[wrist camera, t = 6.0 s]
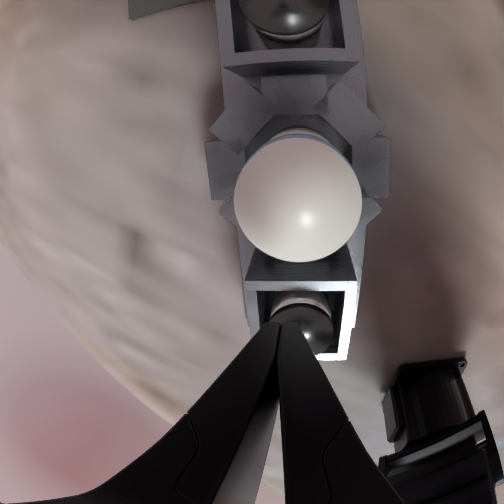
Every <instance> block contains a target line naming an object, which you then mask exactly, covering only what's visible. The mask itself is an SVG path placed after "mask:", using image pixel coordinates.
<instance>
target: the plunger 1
mask: <svg viewBox="0 0 504 504" xmlns="http://www.w3.org/2000/svg"><path fill="white" fill-rule="evenodd" d="M238 1H239V5H240V8H241V10H242V12H243V13H244V15H245V17H246V18H247V19H248V21H249V22H250V23H251V24H252V25H253V27H254V28H255V30H256V32H257V33H258V35H259V37H260V38H261V40H262V41H263V42H264V43H265V44H266V45H267V46H268V47H270V48H271V49H292V48H310V47H311V46H312V45H313V44H314V43H315V42H316V41H317V39H318V37H319V35H320V31H321V27H322V23H323V19H324V17H325V15H326V13H327V9H328V5H329V0H238Z"/></svg>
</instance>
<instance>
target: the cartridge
mask: <svg viewBox="0 0 504 504" xmlns="http://www.w3.org/2000/svg"><path fill="white" fill-rule="evenodd" d="M234 209H235V214H236V217H237V221H238V223H239V225H240V227H241V229H242V231H243V232H244V234H245V235H246V237H247V238H248V239H249V240H250V241H251V242H252V243H253V244H254V245H255V246H256V247H257V248H258V249H260V250H261V251H263V252H264V253H266V254H268V255H270V256H272V257H275V258H277V259H281V260H284V261H290V262H308V261H314V260H318V259H321V258H324V257H326V256H328V255H330V254H332V253H333V252H335V251H337V250H338V249H339V248H340V247H342V246H343V245H344V244H345V243H346V242H347V241H348V239H349V238H350V237H351V236H352V234H353V232H354V231H355V229H356V227H357V225H358V222H359V219H360V215H361V210H362V194H361V188H360V185H359V182H358V179H357V177H356V174H355V172H354V170H353V168H352V166H351V165H350V163H349V162H348V160H347V159H346V158H345V157H344V156H343V155H342V154H341V152H340V151H339V150H338V149H337V148H335V147H334V146H333V145H332V144H331V143H330V142H329V141H328V140H327V139H326V138H325V137H324V136H323V135H322V134H321V133H319V132H318V131H316V130H314V129H311V128H308V127H303V126H294V127H289V128H286V129H283V130H281V131H279V132H278V133H277V134H275V135H274V136H273V137H272V138H271V139H270V140H269V141H268V142H266V143H265V144H264V145H262V146H261V147H260V148H259V149H258V150H257V151H256V152H255V153H254V154H253V155H252V156H251V157H250V158H249V159H248V161H247V162H246V163H245V165H244V167H243V169H242V171H241V173H240V175H239V177H238V180H237V182H236V186H235V190H234Z"/></svg>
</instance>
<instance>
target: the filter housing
mask: <svg viewBox="0 0 504 504" xmlns="http://www.w3.org/2000/svg"><path fill="white" fill-rule="evenodd" d="M215 8H216V19H217V31H218V43H219V54H220V65H221V76H222V87H223V97H224V108H225V110H224V112H223V113H222V114H221V115H220V117H219V118H218V119H217V120H216V121H215V123H214V124H213V125H212V126H211V128H210V129H209V130H208V131H210V132H211V133H212V134H213V135H215V136H216V137H217V138H218V139H214V140H211V141H209V142H206V143H205V150H206V159H207V167H208V175H209V183H210V191H211V199H212V200H227V201H226V202H225V203H224V204H223V206H222V207H221V208H220V210H219V211H218V212H219V213H220V214H221V215H223V216H224V217H225V218H226V219H227V220H229V221H230V222H231V223H232V224H233V225H235V226H236V227H237V233H238V242H239V251H240V260H241V269H242V278H243V287H244V295H245V304H246V312H247V321H248V327H250V335H251V338H252V337H253V336H254V335H255V334H256V332H257V331H258V330H259V329H260V328H261V326H262V325H263V324H264V323H266V322H269V319H270V316H271V310H272V304H273V298H274V292H275V291H329V300H330V311H331V320H332V323H333V340H332V342H331V344H330V345H329V347H328V348H327V349H326V350H325V351H323V352H322V353H320V354H318V355H316V358H317V360H346V357H347V351H348V345H349V339H350V333H351V328H354V327H355V321H356V314H357V307H358V300H359V292H360V284H361V275H362V266H363V256H364V244H365V232H366V225H367V224H368V223H369V222H370V221H372V220H373V219H374V218H375V217H376V216H377V215H378V214H379V213H380V212H381V211H382V210H383V209H382V207H381V206H380V205H379V203H378V202H377V201H376V199H375V198H389V183H390V150H391V139H390V138H387V137H385V136H382V135H377V134H378V133H379V132H380V131H381V130H382V129H383V128H384V127H385V125H384V124H383V123H382V121H381V120H380V119H379V118H378V117H377V116H376V115H375V114H374V113H373V112H372V111H371V110H370V109H369V108H368V107H367V90H366V76H365V64H364V53H363V44H362V36H361V28H360V21H359V14H358V8H357V1H356V0H329V5H328V9H327V13H326V15H325V17H324V19H323V23H322V27H321V31H320V35H319V37H318V39H317V41H316V42H315V43H314V44H313V45H312V46H311V47H310V48H292V49H271V48H270V47H268V46H267V45H266V44H265V43H264V42H263V41H262V40H261V38H260V37H259V35H258V33H257V32H256V30H255V28H254V27H253V25H252V24H251V23H250V22H249V21H248V19H247V18H246V17H245V15H244V13H243V12H242V10H241V8H240V5H239V1H238V0H215ZM294 126H303V127H308V128H311V129H314V130H316V131H318V132H319V133H321V134H322V135H323V136H324V137H325V138H326V139H327V140H328V141H329V142H330V143H331V144H332V145H333V146H334V147H335V148H337V149H338V150H339V151H340V152H341V154H342V155H343V156H344V157H345V158H346V159H347V160H348V162H349V163H350V165H351V166H352V168H353V170H354V172H355V174H356V177H357V179H358V182H359V185H360V188H361V194H362V210H361V215H360V219H359V222H358V225H357V227H356V229H355V231H354V232H353V234H352V236H351V237H350V238H349V239H348V241H347V242H346V243H345V244H344V245H343V246H342V247H340V248H339V249H338V250H337V251H335V252H333V253H332V254H330V255H328V256H326V257H324V258H321V259H318V260H314V261H308V262H290V261H284V260H281V259H277V258H275V257H272V256H270V255H268V254H266V253H264V252H263V251H261V250H260V249H258V248H257V247H256V246H255V245H254V244H253V243H252V242H251V241H250V240H249V239H248V238H247V237H246V235H245V234H244V232H243V231H242V229H241V227H240V225H239V223H238V221H237V217H236V214H235V209H234V190H235V186H236V182H237V180H238V177H239V175H240V173H241V171H242V169H243V167H244V165H245V163H246V162H247V161H248V159H249V158H250V157H251V156H252V155H253V154H254V153H255V152H256V151H257V150H258V149H259V148H260V147H261V146H262V145H264V144H265V143H266V142H268V141H269V140H270V139H271V138H272V137H273V136H274V135H275V134H277V133H278V132H279V131H281V130H283V129H286V128H289V127H294Z"/></svg>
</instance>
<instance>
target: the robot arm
mask: <svg viewBox="0 0 504 504" xmlns="http://www.w3.org/2000/svg"><path fill="white" fill-rule="evenodd" d="M466 366H467V360H466V358H458V359H451V360H443V361H435V362H427V363H417V364H407V365H402V366H400V367H399V369H398V371H397V373H396V376H395V379H394V381H393V384H392V386H391V387H390V388H389V389H388V392H387V395H386V397H385V400H384V402H383V413H384V417H385V425H386V432H387V440H388V441H389V442H390V443H393V442H394V447H395V453H394V454H391V455H388V456H387V455H385V456H382V457H380V458H379V466H378V467H377V465H376V464H375V463H374V461H373V460H372V458H371V457H370V455H369V454H368V452H367V451H366V449H365V447H364V445H363V444H362V442H361V440H360V438H359V437H358V435H357V433H356V431H355V429H354V427H353V426H352V424H351V422H350V421H348V420H349V418H348V416H347V415H346V413H345V411H344V409H343V407H342V405H341V403H340V401H339V399H338V397H337V396H336V394H335V392H334V390H333V388H332V386H331V384H330V382H329V380H328V379H327V377H326V375H325V373H324V371H323V369H322V367H321V365H320V363H319V362H318V360H317V358H316V356H315V354H314V352H313V350H312V348H311V347H310V345H309V343H308V341H307V339H306V337H305V335H304V333H303V332H302V330H301V328H300V326H299V324H298V323H296V322H284V323H282V324H280V323H278V322H266V323H264V324H263V325H262V326H261V328H260V329H259V330H258V331H257V332H256V334H255V335H254V336H253V337H252V338H251V340H250V341H249V342H248V343H247V344H246V346H245V347H244V348H243V349H242V350H241V351H240V353H239V354H238V355H237V356H236V357H235V358H234V360H233V361H232V362H231V363H230V364H229V365H228V367H227V368H226V369H225V370H224V371H223V372H222V373H221V375H220V376H219V377H218V378H217V379H216V380H215V381H214V383H213V384H212V385H211V386H210V387H209V388H208V389H207V390H206V392H205V393H204V394H203V395H202V396H201V397H200V398H199V399H198V400H197V402H196V403H195V404H194V405H193V406H192V407H191V408H190V409H189V410H188V411H187V413H188V414H184V415H183V417H182V418H181V419H180V420H179V421H178V422H177V423H176V424H175V425H174V426H173V427H172V428H171V429H170V430H169V431H168V432H167V433H166V434H165V435H164V436H163V437H162V438H161V439H160V440H159V441H157V442H156V443H155V444H154V445H153V446H152V447H150V448H149V449H148V450H147V451H146V452H145V453H143V454H142V455H141V456H139V457H138V458H137V459H136V460H134V461H133V462H132V463H131V464H129V465H128V466H126V467H125V468H124V469H122V470H121V471H120V472H118V473H117V474H116V475H114V476H113V477H112V478H110V479H109V480H108V481H106V482H105V483H103V484H102V485H100V486H98V487H97V488H95V489H93V490H90V491H88V492H86V493H82V494H79V495H75V496H70V497H64V498H58V499H51V500H43V501H35V502H24V503H10V504H255V500H256V496H257V493H258V489H259V485H260V482H261V478H262V474H263V470H264V466H265V462H266V458H267V454H268V450H269V445H270V441H271V437H272V433H273V428H274V424H275V419H276V415H277V410H278V405H280V420H281V436H282V452H283V469H284V487H285V504H497V497H496V491H495V487H497V486H499V485H501V484H503V483H504V475H503V470H502V466H501V461H500V457H499V454H498V450H497V447H496V443H495V440H494V437H493V434H492V431H491V428H490V425H489V422H488V419H487V416H486V413H485V411H484V410H482V411H480V412H479V413H478V414H477V415H475V412H474V409H473V406H472V404H471V401H470V398H469V395H468V392H467V390H466V387H465V384H464V382H463V379H462V376H461V375H462V373H463V371H464V370H465V368H466ZM484 438H486V440H485V441H483V442H481V443H479V444H477V442H478V441H480V440H482V439H484ZM0 504H3V503H1V502H0Z"/></svg>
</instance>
